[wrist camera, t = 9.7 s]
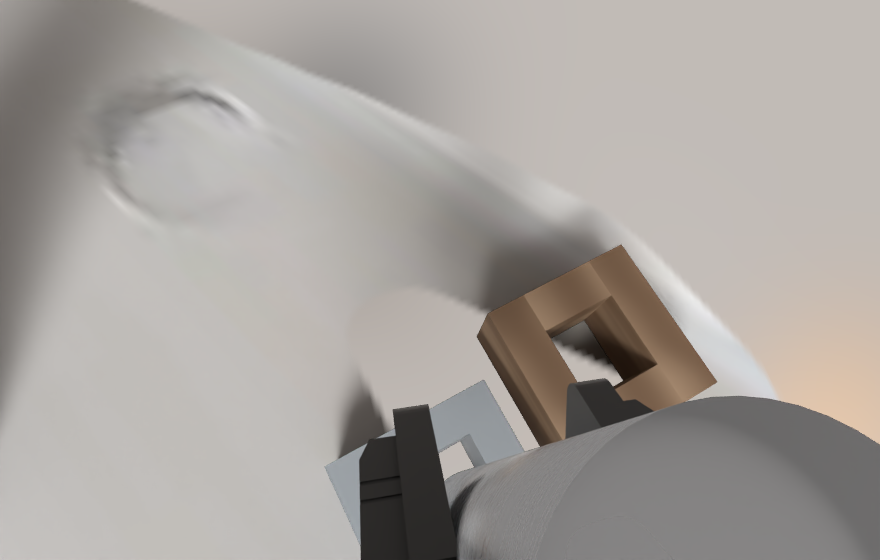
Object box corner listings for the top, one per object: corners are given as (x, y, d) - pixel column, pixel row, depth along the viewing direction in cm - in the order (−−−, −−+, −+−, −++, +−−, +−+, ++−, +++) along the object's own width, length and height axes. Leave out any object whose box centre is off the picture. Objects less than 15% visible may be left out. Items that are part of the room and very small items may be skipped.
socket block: (409, 628, 29) (410, 656, 24) (336, 469, 31) (324, 466, 27) (552, 537, 31) (578, 547, 26) (472, 394, 33) (483, 379, 29)
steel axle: (457, 588, 17) (757, 1216, 2) (412, 498, 18) (429, 547, 3) (537, 537, 18) (1168, 782, 3) (490, 453, 19) (802, 321, 4)
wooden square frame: (553, 469, 32) (578, 467, 27) (476, 336, 35) (487, 313, 30) (674, 396, 34) (717, 382, 29) (593, 275, 37) (621, 244, 32)
